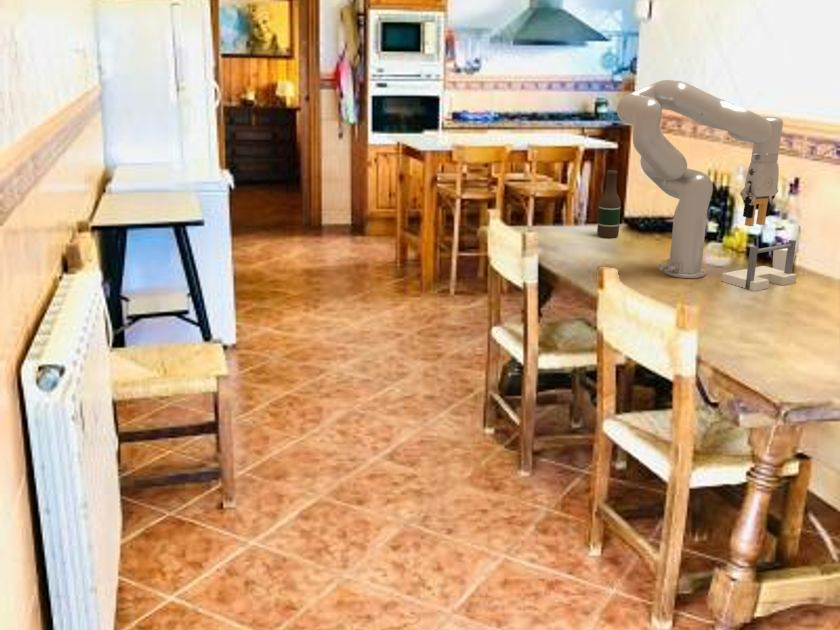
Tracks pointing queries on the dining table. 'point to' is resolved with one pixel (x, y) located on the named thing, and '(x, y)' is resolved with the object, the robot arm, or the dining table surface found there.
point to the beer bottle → (609, 209)
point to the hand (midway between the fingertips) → (755, 216)
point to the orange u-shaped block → (761, 212)
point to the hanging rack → (763, 270)
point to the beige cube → (780, 259)
